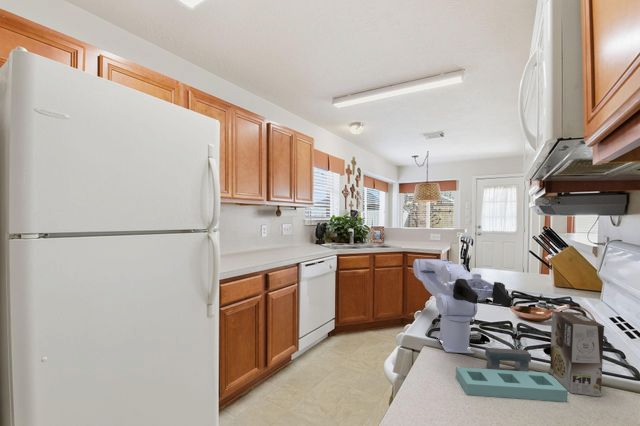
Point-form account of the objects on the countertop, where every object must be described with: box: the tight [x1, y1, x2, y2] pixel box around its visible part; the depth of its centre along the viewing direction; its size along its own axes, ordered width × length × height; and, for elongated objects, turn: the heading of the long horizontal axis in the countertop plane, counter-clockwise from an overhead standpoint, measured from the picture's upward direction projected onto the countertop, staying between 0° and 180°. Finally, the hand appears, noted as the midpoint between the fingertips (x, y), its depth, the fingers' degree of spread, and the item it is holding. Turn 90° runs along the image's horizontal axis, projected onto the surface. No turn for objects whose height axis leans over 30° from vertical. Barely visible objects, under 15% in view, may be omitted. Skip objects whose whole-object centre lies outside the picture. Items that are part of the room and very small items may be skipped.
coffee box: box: [549, 310, 605, 397], centre depth 73 cm, size 9×6×16 cm
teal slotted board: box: [455, 366, 569, 403], centre depth 71 cm, size 21×7×2 cm, turn 85°
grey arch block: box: [484, 347, 532, 372], centre depth 79 cm, size 2×10×5 cm, turn 85°
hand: (492, 301), depth 71 cm, fingers open, 7 cm apart
